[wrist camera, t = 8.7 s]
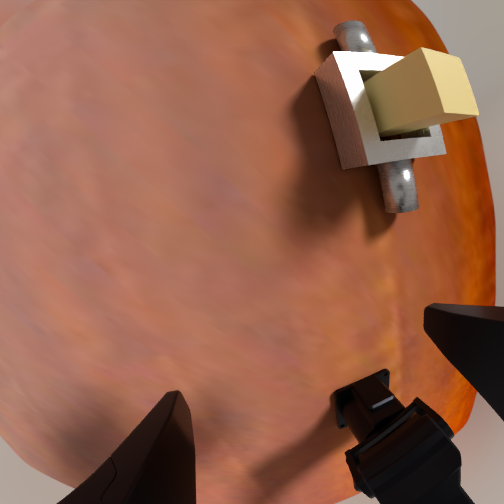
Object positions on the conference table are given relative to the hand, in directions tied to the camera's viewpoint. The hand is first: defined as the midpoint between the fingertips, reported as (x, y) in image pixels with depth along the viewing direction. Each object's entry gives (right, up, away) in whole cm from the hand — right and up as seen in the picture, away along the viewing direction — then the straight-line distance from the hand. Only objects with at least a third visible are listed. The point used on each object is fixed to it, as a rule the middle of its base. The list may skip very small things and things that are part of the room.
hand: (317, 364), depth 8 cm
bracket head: (+8, +15, +12) cm, 21 cm away
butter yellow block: (+8, +15, +12) cm, 21 cm away
